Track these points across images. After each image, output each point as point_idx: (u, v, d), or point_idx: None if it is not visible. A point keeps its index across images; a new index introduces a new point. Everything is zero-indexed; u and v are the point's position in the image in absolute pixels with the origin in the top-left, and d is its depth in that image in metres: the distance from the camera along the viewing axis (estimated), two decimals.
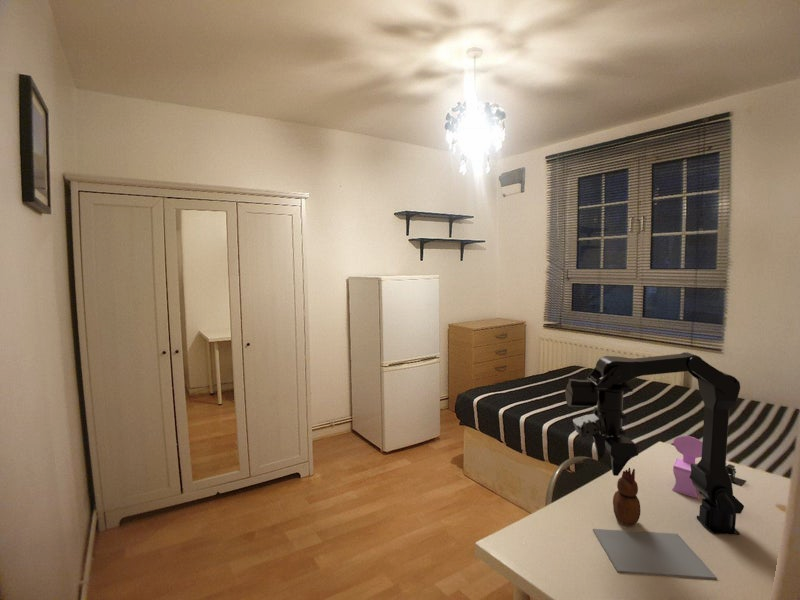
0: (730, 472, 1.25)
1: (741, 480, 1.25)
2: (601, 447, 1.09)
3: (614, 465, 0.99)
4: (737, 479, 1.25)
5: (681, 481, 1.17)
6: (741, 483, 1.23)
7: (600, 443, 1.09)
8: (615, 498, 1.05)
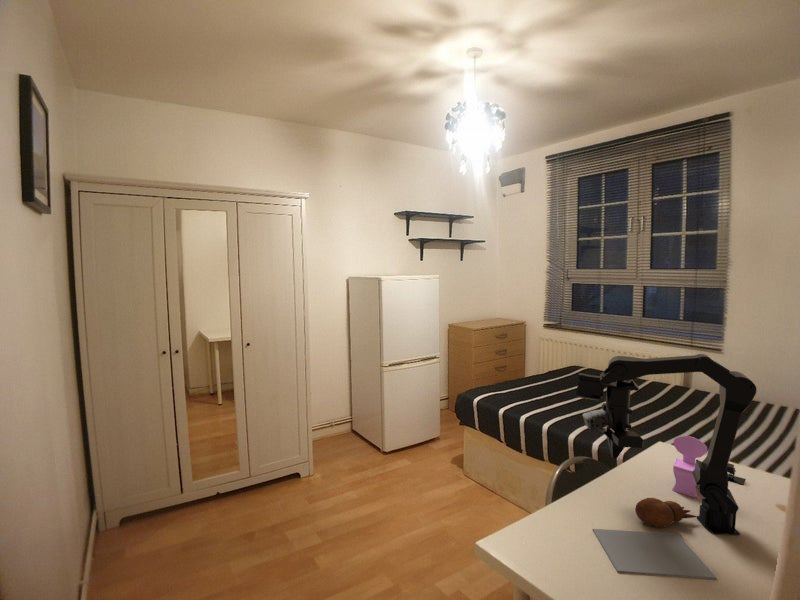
0: (731, 471, 1.25)
1: (741, 479, 1.26)
2: None
3: (613, 449, 1.11)
4: (737, 478, 1.26)
5: (681, 481, 1.17)
6: (742, 482, 1.24)
7: None
8: (663, 502, 1.04)
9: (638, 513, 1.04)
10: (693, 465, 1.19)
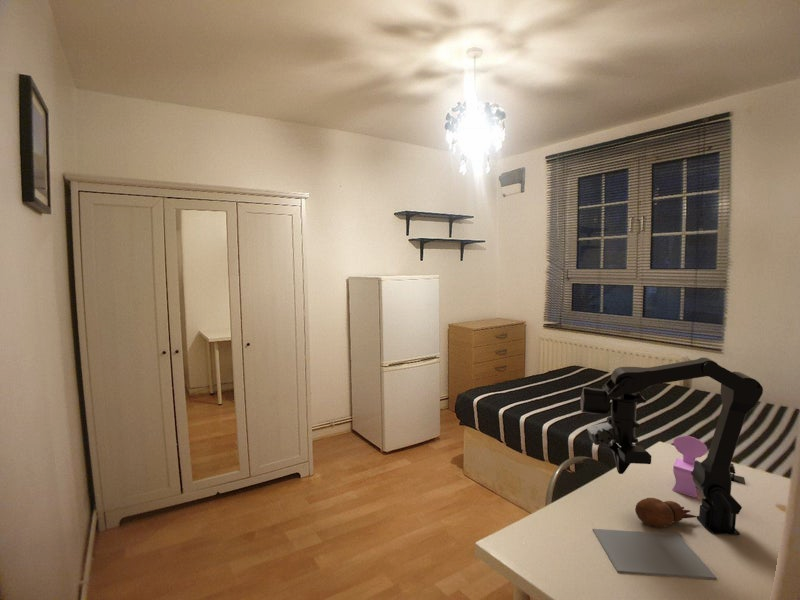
0: (732, 471, 1.25)
1: (740, 477, 1.27)
2: None
3: (619, 464, 1.07)
4: (736, 477, 1.27)
5: (681, 481, 1.17)
6: (742, 481, 1.25)
7: None
8: (663, 502, 1.04)
9: (638, 513, 1.04)
10: (693, 465, 1.19)
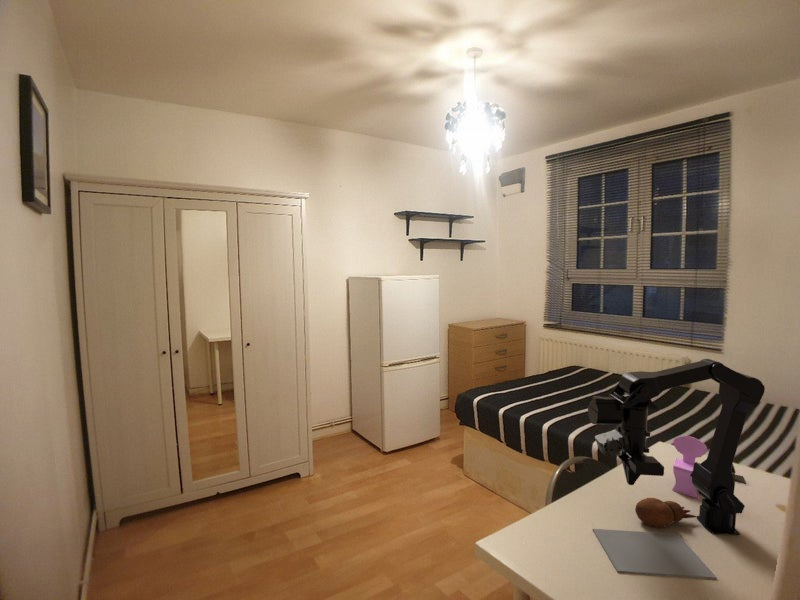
0: (732, 470, 1.26)
1: (739, 476, 1.27)
2: None
3: (629, 475, 1.01)
4: (736, 476, 1.27)
5: (681, 481, 1.17)
6: (742, 480, 1.25)
7: None
8: (663, 502, 1.04)
9: (638, 513, 1.04)
10: (693, 465, 1.19)
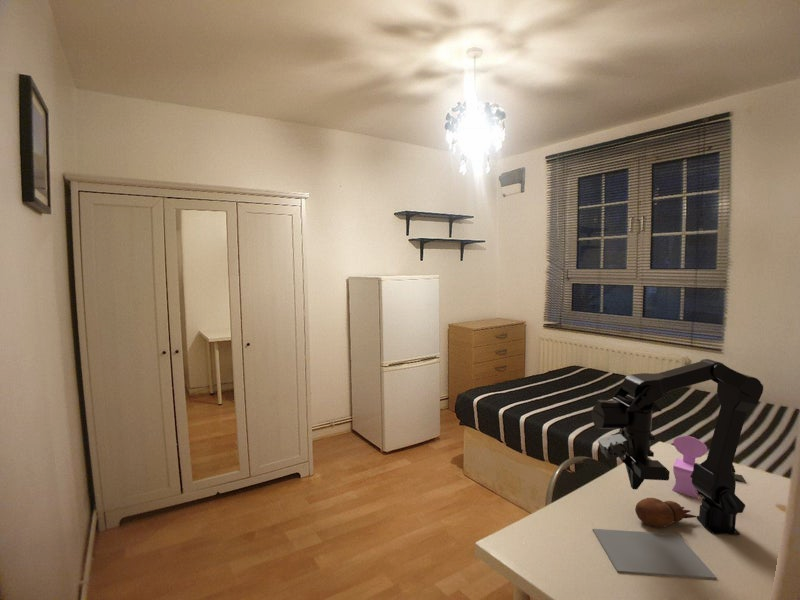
0: (732, 470, 1.26)
1: (738, 475, 1.28)
2: None
3: (633, 479, 0.99)
4: (735, 475, 1.27)
5: (681, 481, 1.17)
6: (742, 479, 1.26)
7: None
8: (663, 502, 1.04)
9: (638, 513, 1.04)
10: (693, 465, 1.19)
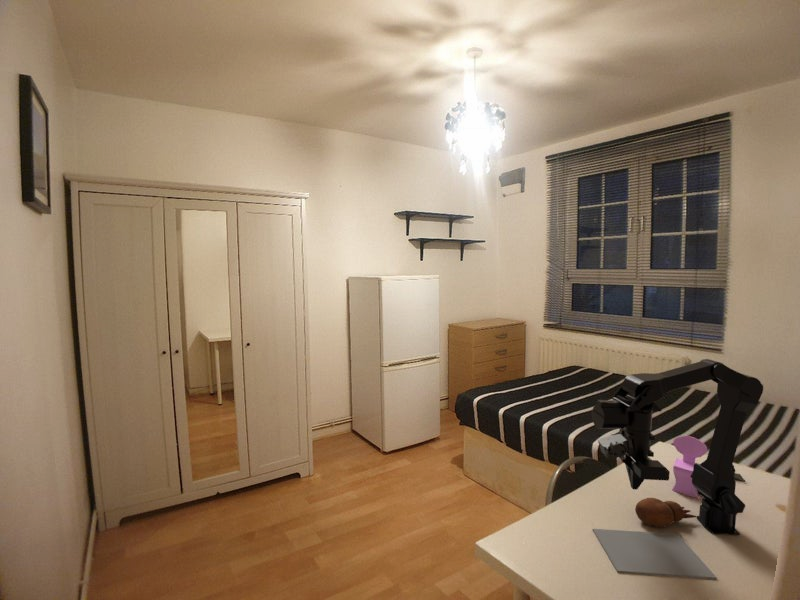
0: (732, 470, 1.26)
1: (737, 475, 1.28)
2: None
3: (634, 479, 0.99)
4: (734, 474, 1.28)
5: (681, 481, 1.17)
6: (741, 478, 1.26)
7: None
8: (663, 502, 1.04)
9: (638, 513, 1.04)
10: (693, 465, 1.19)
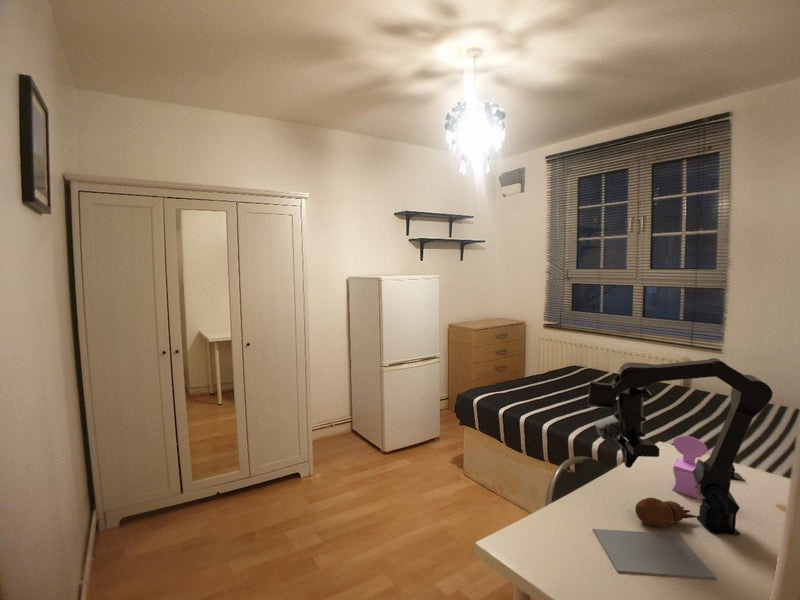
0: (732, 469, 1.27)
1: (736, 474, 1.29)
2: None
3: (627, 458, 1.09)
4: (733, 474, 1.28)
5: (681, 481, 1.17)
6: (741, 477, 1.27)
7: None
8: (663, 502, 1.04)
9: (638, 513, 1.04)
10: (693, 465, 1.19)
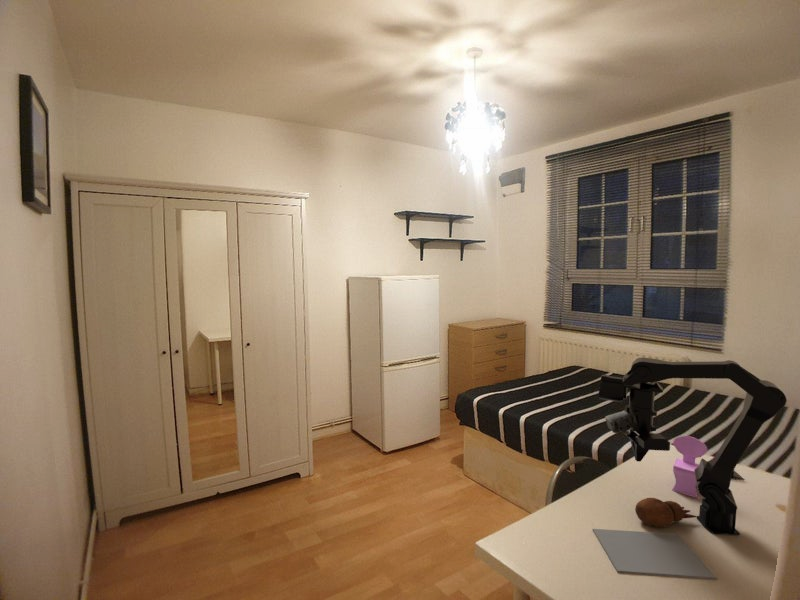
0: None
1: (734, 472, 1.30)
2: None
3: (637, 452, 1.10)
4: None
5: (681, 481, 1.17)
6: (739, 476, 1.27)
7: None
8: (663, 502, 1.04)
9: (638, 513, 1.04)
10: (693, 465, 1.19)
